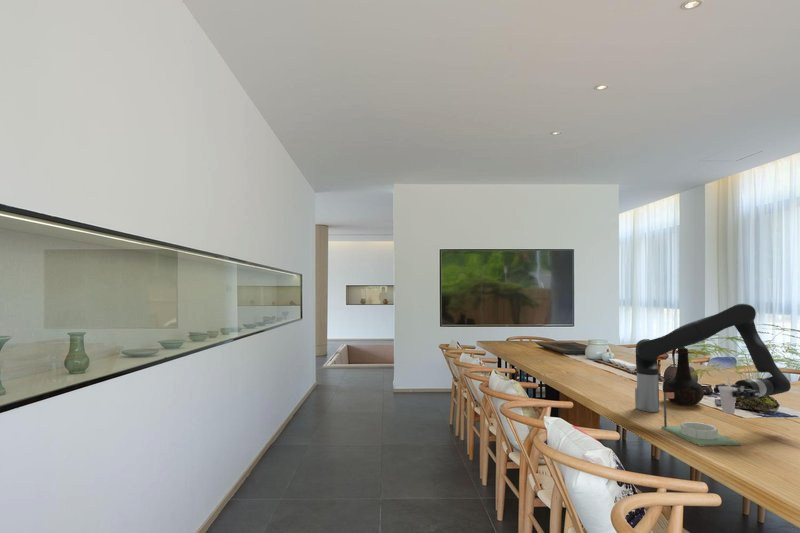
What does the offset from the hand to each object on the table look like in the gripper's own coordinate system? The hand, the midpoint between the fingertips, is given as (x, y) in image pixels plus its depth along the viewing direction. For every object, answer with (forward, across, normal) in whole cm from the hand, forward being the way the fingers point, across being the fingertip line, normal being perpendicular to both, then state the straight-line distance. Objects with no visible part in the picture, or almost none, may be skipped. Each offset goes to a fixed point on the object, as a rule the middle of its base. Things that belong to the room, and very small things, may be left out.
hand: (724, 392), depth 180 cm
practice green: (+7, -5, +18) cm, 20 cm away
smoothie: (-2, 0, +8) cm, 9 cm away
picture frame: (-57, -29, +19) cm, 66 cm away
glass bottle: (-36, -42, +18) cm, 58 cm away
